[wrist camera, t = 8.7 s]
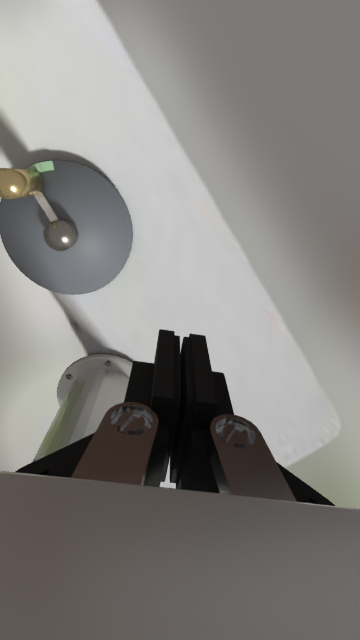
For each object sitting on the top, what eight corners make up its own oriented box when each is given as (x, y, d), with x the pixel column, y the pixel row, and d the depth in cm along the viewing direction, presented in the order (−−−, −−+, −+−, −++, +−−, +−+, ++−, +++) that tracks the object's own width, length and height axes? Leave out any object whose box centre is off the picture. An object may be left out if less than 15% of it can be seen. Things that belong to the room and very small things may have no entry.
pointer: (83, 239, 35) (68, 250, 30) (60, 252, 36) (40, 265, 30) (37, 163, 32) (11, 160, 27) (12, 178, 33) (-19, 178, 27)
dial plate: (126, 299, 40) (124, 303, 38) (6, 281, 39) (0, 285, 37) (139, 173, 34) (138, 173, 33) (0, 148, 33) (-7, 147, 32)
